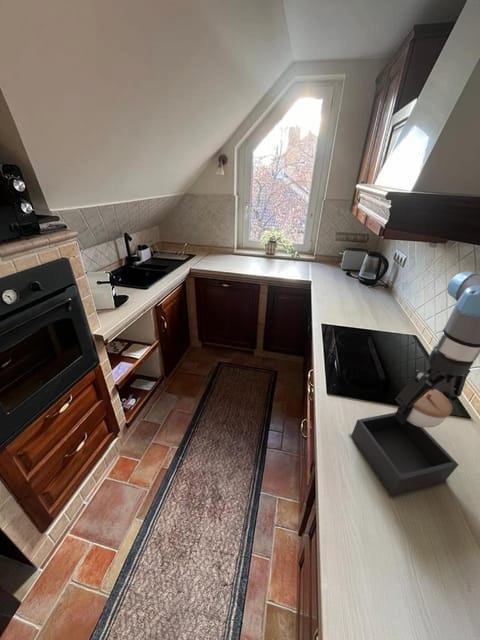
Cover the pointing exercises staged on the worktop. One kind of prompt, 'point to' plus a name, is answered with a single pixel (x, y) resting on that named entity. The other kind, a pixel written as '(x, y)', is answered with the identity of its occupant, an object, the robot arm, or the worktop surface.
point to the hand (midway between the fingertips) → (416, 416)
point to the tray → (402, 453)
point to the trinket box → (430, 409)
